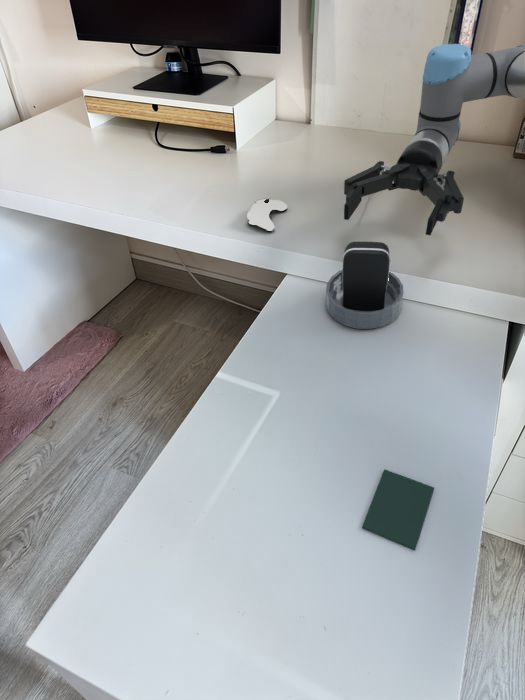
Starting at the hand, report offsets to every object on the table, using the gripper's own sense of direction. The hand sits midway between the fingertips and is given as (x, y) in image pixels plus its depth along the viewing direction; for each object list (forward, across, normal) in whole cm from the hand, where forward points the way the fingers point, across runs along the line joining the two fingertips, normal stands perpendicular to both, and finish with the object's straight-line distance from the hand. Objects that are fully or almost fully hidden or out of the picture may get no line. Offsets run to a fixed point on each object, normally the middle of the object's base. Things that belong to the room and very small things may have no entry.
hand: (386, 219), depth 81 cm
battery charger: (+10, 0, -10) cm, 14 cm away
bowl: (+10, 0, -10) cm, 14 cm away
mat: (+42, -16, -10) cm, 46 cm away
